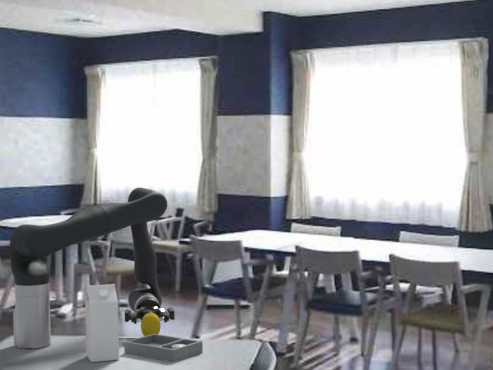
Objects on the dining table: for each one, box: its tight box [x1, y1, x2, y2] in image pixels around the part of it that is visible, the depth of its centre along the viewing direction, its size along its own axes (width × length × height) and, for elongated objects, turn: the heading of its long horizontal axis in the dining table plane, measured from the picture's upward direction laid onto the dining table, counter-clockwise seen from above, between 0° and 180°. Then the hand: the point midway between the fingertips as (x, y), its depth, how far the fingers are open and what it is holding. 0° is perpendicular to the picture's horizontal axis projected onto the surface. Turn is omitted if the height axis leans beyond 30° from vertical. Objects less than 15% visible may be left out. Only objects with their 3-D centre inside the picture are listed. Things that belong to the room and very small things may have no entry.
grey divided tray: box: [123, 333, 204, 363], centre depth 219 cm, size 17×12×3 cm
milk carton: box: [84, 283, 120, 363], centre depth 213 cm, size 7×7×19 cm
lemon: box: [140, 312, 162, 337], centre depth 234 cm, size 6×6×8 cm
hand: (150, 319), depth 232 cm, fingers open, 8 cm apart
